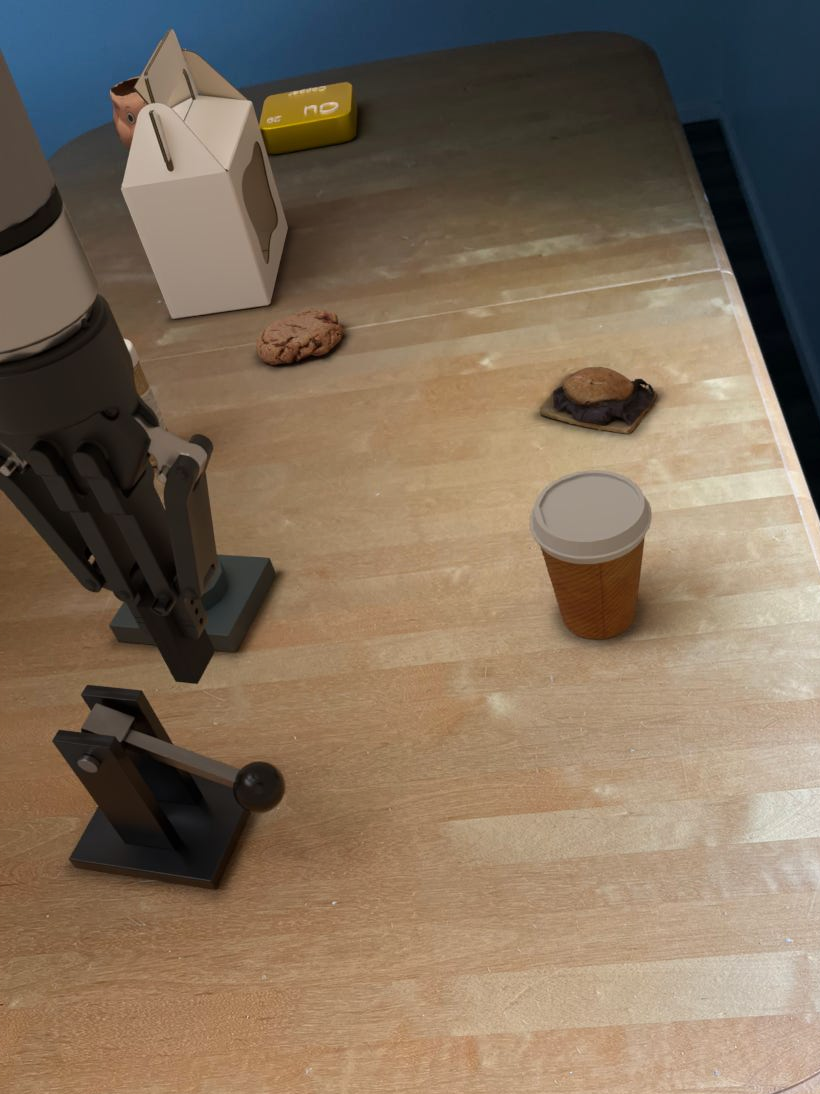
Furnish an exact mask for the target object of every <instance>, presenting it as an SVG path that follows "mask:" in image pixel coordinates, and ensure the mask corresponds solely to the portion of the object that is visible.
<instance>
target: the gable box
mask: <svg viewBox="0 0 820 1094" xmlns="http://www.w3.org/2000/svg"><path fill="white" fill-rule="evenodd" d="M139 76H140V78H139V79H138V81H137V83H136V85H135V86H134V88H133V89H134V90H135V91H136V92H137V93H138V94H139V96H140V97H141V98H142V99H143V100H144V101H145V103H146V104H147V105H146V106H145V107H143V108H142V109H141V111H140V112H139V114H138V117H137V121H136V126H135V130H134V135H133V139H132V144H131V148H130V150H129V153H128V157H127V162H126V167H125V171H124V175H123V180H122V183H121V185H120V190H121V193H122V197H123V199H124V201H125V203H126V206H127V208H128V211H129V214H130V216H131V219H132V221H133V224H134V226H135V229H136V231H137V234H138V236H139V240H140V242H141V244H142V247H143V249H144V252H145V254H146V257H147V259H148V261H149V264H150V267H151V269H152V272H153V275H154V277H155V280H156V282H157V284H158V288H159V289H160V292H161V295H162V297H163V299H164V303H165V306H166V308H167V310H168V313H169V315H170V318H171V319H173V320H178V319H183V318H190V317H198V316H205V315H212V314H213V315H214V314H218V313H224V312H233V311H238V310H239V311H240V310H247V309H253V308H259V307H267V306H270V305H271V303H272V299H273V294H274V290H275V286H276V281H277V275H278V273H279V268H280V263H281V260H282V254H283V250H284V247H285V243H286V238H287V233H288V229H289V226H288V224H287V220H286V216H285V213H284V209H283V205H282V202H281V198H280V195H279V191H278V188H277V184H276V181H275V177H274V173H273V171H272V166H271V162H270V160H269V156H268V153H267V152H266V149H265V145H264V142H263V138H262V135H261V131H260V128H259V124H260V123H259V121H258V118H257V114H256V110H255V107H254V103H253V102H252V101H251V100H250V99H249V98H248V97H246V96H245V94H243V93H242V92H241V91H240V90H239V89H238V88H236V87H235V86H234V85H233V84H232V83H231V82H230V81H229V80H228V79H226V78H225V76H223V75H222V74H221V73H220V72H219V71H218V70H217V69H215V68H214V66H212V64H210V63H209V62H208V61H207V60H205V59H204V57H202V56H201V55H200V54H199V53H198V52H195V51H192V50H188V49H187V48H186V47H183V48H181V45H180V43H179V40H178V36H177V35H176V33H175V30H174V29H172V28H171V29H167V31H166V33H165V34H164V36H163V38H162V39H160V41H159V42H158V44H157V46H156V47H155V49H154V51H153V52H152V55H151V56H150V58H149V59H148V62H147V63H146V65H145V67H144V68H143V71H142V72H141V74H140V75H139ZM199 94H200V95H199Z"/></svg>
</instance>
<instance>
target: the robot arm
mask: <svg viewBox="0 0 820 1094" xmlns="http://www.w3.org/2000/svg"><path fill="white" fill-rule="evenodd" d="M31 121H32V120H31V119H30V116H29V114H28V112H27V110H26V107H25V104H24V102H23V99H22V97H21V95H20V93H19V90H18V87H17V85H16V83H15V80H14V78H13V75H12V73H11V71H10V69H9V67H8V63H7V61H6V59H5V56H4V54H3V52H2V49H1V48H0V491H2V492H3V494H4V495H5V496H6V497H7V499H8V500H9V501H10V502H11V503H12V504H13V505H14V506H15V508H16V509H17V510H18V511H19V512H20V514H21V515H22V516H23V517H24V518H25V520H26V521H27V522H28V523H29V524H30V526H32V528H33V529H34V530H35V531H36V532H37V534H38V535H39V536H40V537H41V538H42V540H43V541H44V542H45V544H47V546H48V547H49V548H50V549H51V550H52V551H53V553H54V554H55V556H57V558H59V560H60V561H61V562H62V564H63V565H64V566H65V567H66V568H67V570H68V571H69V572H70V573H71V574H72V576H73V577H74V578H75V579H76V580H77V582H79V584H80V585H81V586H82V587H83V588H84V589H85V590H87V591H88V592H90V593H94V594H95V593H100V592H101V591H102V589H104V590H108V591H111V592H112V594H113V595H114V597H115V598H116V599H118V600H119V601H121V602H125V603H126V604H127V606H128V608H129V610H130V612H131V613H132V615H133V617H134V619H135V621H136V623H137V625H138V626H139V628H140V630H141V631H142V632H143V633H144V634H145V635H151V636H152V638H153V640H154V642H155V644H156V645H155V646H156V647H157V650H158V652H159V654H160V656H161V657H162V659H163V661H164V663H165V665H166V667H167V668H168V670H169V672H170V674H171V676H172V678H173V680H174V681H175V683H181V684H182V683H184V684H192V685H198V684H199V683H200V680H201V679H202V677H203V675H204V674H205V671H206V670H207V667H208V666H209V664H210V662H211V660H212V658H213V657H214V655H215V653H216V650H215V649H214V647H213V645H212V643H211V640H210V638H209V636H208V634H207V632H206V630H205V626H206V624H207V622H208V615H207V613H206V611H205V610H204V606H203V605H202V602H201V600H200V598H201V596H202V594H203V593H204V591H205V589H206V587H207V586H208V584H209V582H210V580H211V579H212V577H213V575H214V573H215V572H216V570H217V568H218V559H217V554H218V552H217V546H216V545H217V544H216V538H215V531H214V530H215V529H214V524H213V523H214V522H213V516H212V507H211V501H210V495H209V486H208V479H207V478H208V477H207V473H206V472H207V468H208V465H209V462H210V459H211V457H212V454H213V452H214V444H213V442H212V440H211V439H210V437H207V436H206V435H204V434H202V433H194V434H192V436H191V437H190V438H189V440H188V441H187V440H185V439H183V438H181V437H180V436H177V435H175V434H173V433H172V432H170V431H169V430H168V431H169V432H168V431H166V430H164V429H162V428H160V426H159V420H158V418H157V416H156V414H155V412H154V411H153V410H152V409H151V408H150V407H149V406H148V405H147V404H146V403H145V402H144V401H143V400H142V398H141V397H140V396H139V394H138V392H137V390H136V386H135V379H134V369H133V362H132V358H131V355H130V353H129V350H128V348H127V346H126V344H125V341H124V339H125V338H124V337H123V334H122V332H121V330H120V327H119V325H118V322H117V319H116V318H115V316H114V313H113V311H112V309H111V307H110V304H109V302H108V301H107V300H106V298H105V297H104V296H102V295H101V294H100V293H98V292H99V290H100V286H99V280H98V278H97V276H96V273H95V271H94V268H93V266H92V264H91V262H90V259H89V258H88V257H89V256H88V255H87V252H86V250H85V247H84V245H83V244H82V241H81V238H80V236H79V234H78V231H77V230H76V227H75V225H74V223H73V220H72V218H71V216H70V213H69V211H68V209H67V206H66V204H65V201H64V200H63V197H62V196H61V192H60V190H59V189H58V186H57V185H56V180H55V177H54V175H53V173H52V170H51V167H50V165H49V163H48V160H47V158H46V154H45V152H44V150H43V148H42V145H41V143H40V141H39V139H38V136H37V134H36V130H35V129H34V127H33V124H32V122H31ZM150 455H152V456H153V457H154V458H155V460H156V462H157V466H156V468H157V471H158V473H157V475H155V470H154V466H153V467H152V465H151V463H150V460H149V458H150ZM155 476H156V480H157V481H158V482H159V483H160V484H163V485H164V488H163V502H164V503H163V502H162V500H161V497H160V496H159V493H158V491H157V489H156V486H155ZM92 556H93V558H94V559H93V561H92V562H90V561H89V560H90V559H91V557H92Z"/></svg>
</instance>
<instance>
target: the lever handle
mask: <svg viewBox="0 0 820 1094" xmlns="http://www.w3.org/2000/svg"><path fill="white" fill-rule="evenodd" d="M134 721H135V717H133V716H130V715H127V714H125V713H122V712H119V711H116V710H114V709H111V708H108V707H106V706H103V705H100V704H97V703H96V704H95V706H94V707H93V709H92V711H91V710H90V712H89V714H88V715H87V717H86V719H85V720H84V722H83V724H82V725H81V727H80V732H83V733H92V734H100V735H109V736H115V737H116V738H117V739H118V741H119V743H120V744H121V746H122V747H123V749H124V750H126V749H127V750H130V751H133V752H136V753H138V754H141V755H144V756H146V757H149V758H152V759H155V760H157V761H160V762H163V763H165V764H168V765H171V766H174V767H176V768H179V769H182V770H185V771H187V772H190V773H193V774H195V775H198V776H201V777H204V778H206V779H209V780H212V781H214V782H217V783H220V784H223V785H225V786H228V787H231V788H233V794H234V797H235V799H236V801H237V803H238V804H239V805H240V806H241V807H242V808H243V809H245V810H246V811H249V812H251V813H252V814H265V813H268V812H271V811H272V810H274V809H275V808H277V807H278V806H279V805H280V804H281V802H282V801H283V800H284V797H285V795H286V789H287V787H286V786H287V784H286V778H285V776H284V774H283V773H282V771H281V770H280V769H279V767H277V766H276V765H275V764H273V763H271V762H268V761H265V760H257V761H252V762H249V763H247V764H245V765H244V766H242V767H241V768H238V767H236V766H233V765H230V764H227V763H224V762H221V761H220V760H216V759H214V758H211V757H208V756H205V755H203V754H200V753H198V752H195V751H192V750H189V749H187V748H184V747H181V746H178V745H176V744H174V743H173V744H170V743H168V742H165V741H162V740H159V739H157V738H154V737H151V736H149V735H146V734H143V733H140V732H138V731H135V730H134Z"/></svg>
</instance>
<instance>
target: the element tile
mask: <svg viewBox="0 0 820 1094" xmlns="http://www.w3.org/2000/svg"><path fill="white" fill-rule="evenodd" d="M353 87H354V86H353V85H352V83H350V82H349V81H344V82H337V83H332V84H331V83H330V84H327V85H321V86H315V87H309V88H303V89H300V90H293V91H287V92H281V93H276V94H271V95H268V96H267V97H266V98H265V99H264V101H263V106H262V110H261V115H260V120H259V123H258V124H259V128H260V131H261V135H262V138H263V142H264V145H265V149H266V152H267V155H272V156H273V155H275V156H276V155H282V154H288V153H294V152H300V151H305V150H310V149H311V150H312V149H316V148H321V147H328V146H334V145H339V144H344V143H348V142H351V141H352V140H354V139H355V138H356V136H357V128H358V127H357V123H358V106H357V101H356V97H355V91H354V88H353Z"/></svg>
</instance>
